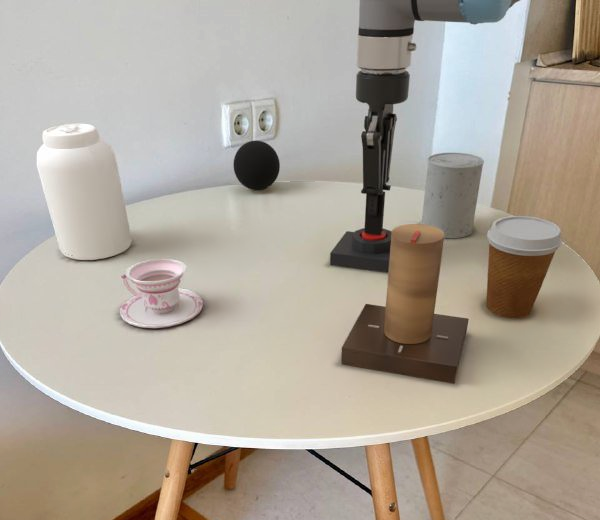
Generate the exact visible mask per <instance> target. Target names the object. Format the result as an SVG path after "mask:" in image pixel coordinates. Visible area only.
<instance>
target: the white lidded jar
mask: <svg viewBox="0 0 600 520" xmlns="http://www.w3.org/2000/svg"><path fill="white" fill-rule="evenodd" d="M41 138H42V139H41V140H42V145H41V146H40V147H39V149H38V150H37V152H36V169H37V172H38V176H39V180H40V184H41V188H42V191H43V194H44V197H45V201H46V206H47V208H48V212H49V216H50V219H51V222H52V226H53V230H54V234H55V237H56V241H57V244H58V249H59V251H60V252H61V253H62V254H63V255H64V256H65V257H66V258H70V259H72V260H79V261H80V260H81V261H95V260H101V259H102V260H103V259H107V258H110V257H114V256H118V255H119V254H122V253H124V252H125V251H126V250H128V249H129V248H130V247H131V245H132V242H133V238H132V233H131V229H130V223H129V218H128V213H127V209H126V202H125V198H124V192H123V188H122V187H123V186H122V182H121V177H120V172H119V167H118V161H117V157H116V154H115V152H114V150H113V148H112V146H111V144H109V143H108V142H107V141H105V140H104V139H102V138H101V137H100V133H99V131H98V129H97V127H96V126H94V125H93V124H89V123H64V124H58V125H54V126H51V127H48V128H46V129H45V130H43V131H42V137H41ZM65 253H66V254H65ZM68 254H69V255H68ZM71 255H73V256H71Z"/></svg>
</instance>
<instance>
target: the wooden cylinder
mask: <svg viewBox="0 0 600 520" xmlns="http://www.w3.org/2000/svg"><path fill="white" fill-rule="evenodd" d="M391 231H392V232H391V245H390V258H389V271H388V273H387V284H386V285H387V286H386V297H385V307H386V309H385V322H384V333H385V335H386V336H387V337H388V338H389V339H391V340H393V341H395V342H398V343H403V344H417V343H422V342H424V341H426V340H428V339H429V338H430V337H431V333H432V326H433V318H434V314H435V309H436V303H437V295H438V288H439V280H440V274H441V273H440V272H441V265H442V257H443V250H444V245H445V244H444V243H445V238H444V236H445V234H444V232H443V231H442V230H441V229H439V228H437V227H434V226H430V225H424V224H421V223H407V224H401V225H398V226H395V227H394V228H392V230H391Z"/></svg>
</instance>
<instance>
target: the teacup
mask: <svg viewBox="0 0 600 520" xmlns="http://www.w3.org/2000/svg"><path fill="white" fill-rule="evenodd" d="M186 271H187V265H186V264H185V263H184V262H182V261H181V260H177V259H172V258H152V259H151V258H150V259H147V260H142V261H137V262H136V263H134V264H132V265H130V266H129V267H128V268H126V270H125V273H124V274H123V275H121V276H120V277H121V279H123V285H124V287H126V289H127V290H128V291H129V292H130V293H131V294H132V296H131V297H129V298H128V299H126V300H125V301H123V303H122V304H121V306H120V309H119V315H120V317H121V318H122V320H123V321H124V322H126V323H127V324H129V325H130V326H135V327H138V328H142V329H143V328H144V329H160V328H161V329H162V328H170V327H173V326H177V325H182V324H184V323H185V322H188V321H190V320H193V318H195V317H196V316H198V315H199V314H200V313H201V311H202V309H203V308H204V304H203V302H204V301H203V298H202V297H201V296H200V295H199V294H198V293H196V292H195V291H193V290H189V289H187V288H182V287H179V286H180V283H181V279H182V278H183V276H184V274H185V272H186ZM128 280H130V281H131V282H132V284H135V286H136V288H137V290H139V291H140V292H137V291H136V290H135V289H134V288H132V287H131V285H130V284H129V281H128Z"/></svg>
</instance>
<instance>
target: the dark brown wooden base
mask: <svg viewBox="0 0 600 520" xmlns="http://www.w3.org/2000/svg"><path fill="white" fill-rule="evenodd" d="M385 309H386V305H376V304H370V303H365V304H364V306H363V308H362V309H361V311H360V313H359V315H358V317H357V319H356V320H355V323H354V324H353V326H352V327H351V330H350V332H349V333H348V335H347V337H346V339H345V340H344V342H343V344H342V346H341V356H340V357H341V358H340V359H341V363H340V365H345V366H351V367H357V368H363V369H368V370H373V371H381V372H385V373H391V374H397V375H401V376H402V375H403V376H408V377H413V378H420V379H426V380H430V381H431V380H432V381H436V382H437V381H438V382H443V383H449V384H455V381H456V377H457V374H458V369H459V366H460V361H461V357H462V353H463V348H464V345H465V340H466V336H467V331H468V325H469V319H470V318H467V317H461V316H454V315H453V316H452V315H446V314H439V313H434V318H433V326H432V333H431V337H430V338H429V339H428V340H426V341H424V342H422V343H417V344H403V343H398V342H395V341H393V340H391V339H389V338H388V337H387V336H386V335H385V333H384V322H385Z"/></svg>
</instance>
